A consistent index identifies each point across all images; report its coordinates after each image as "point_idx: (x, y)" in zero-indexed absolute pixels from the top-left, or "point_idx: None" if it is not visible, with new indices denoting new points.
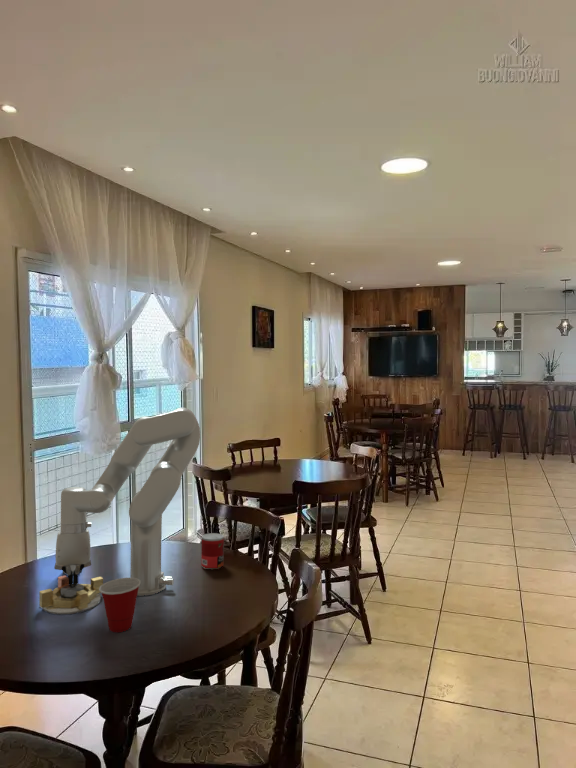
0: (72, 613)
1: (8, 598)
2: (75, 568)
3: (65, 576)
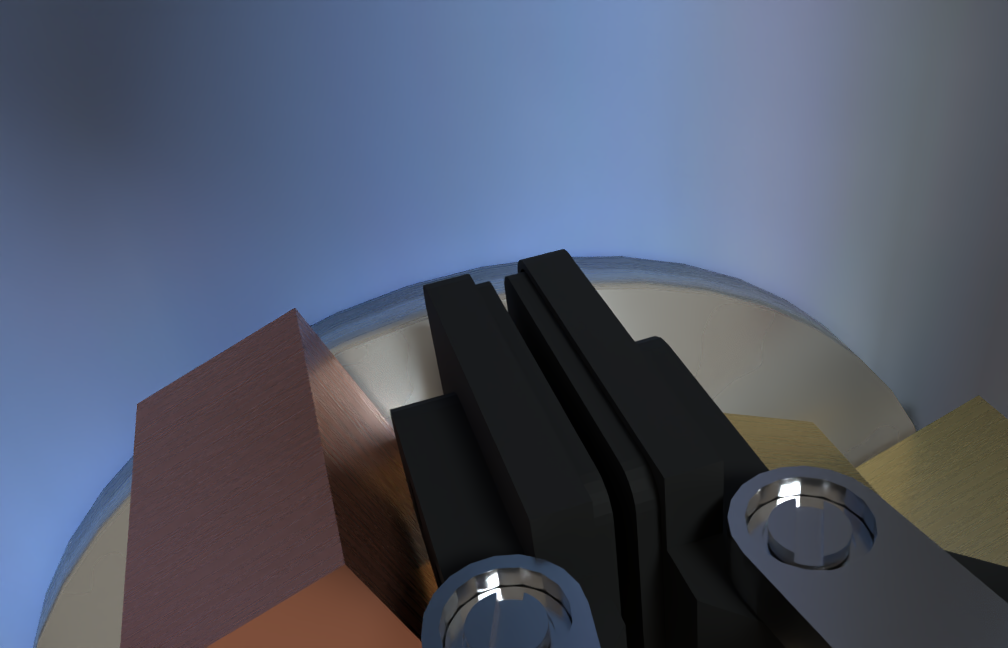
0: None
1: None
2: (792, 642)
3: (379, 644)
